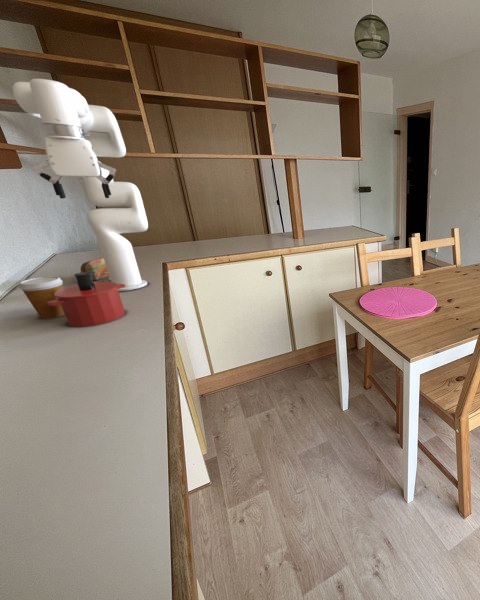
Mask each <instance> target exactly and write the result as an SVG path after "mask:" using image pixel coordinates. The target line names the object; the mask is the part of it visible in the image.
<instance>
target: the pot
mask: <svg viewBox="0 0 480 600" xmlns="http://www.w3.org/2000/svg"><path fill="white" fill-rule="evenodd" d="M124 287H125V284H118V287H117V288H116V289H114V290H112V291H109V292H106V293H103V294H98V295H94V296H88V297H81V298H58V299H57V300H53V301H49V302H47V303H48V305H51V306H56V305H59V304H61V306H62V309H63V311H64V316H65V319H66V321H67V323H68V326H70V327H79V328H80V327H90V326H97V325H102V324H106V323H109V322H113V321H115V320H117V319H120V318H121V317H123V316H124V315H125V313H126V312H125V307H124V304H123V302H122V298H121V294H120V291H118V289H120V288H124Z"/></svg>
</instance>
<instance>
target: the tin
mask: <svg viewBox="0 0 480 600" xmlns="http://www.w3.org/2000/svg"><path fill="white" fill-rule="evenodd" d="M81 272H90V273H91V276H92V279H93V281H99V280H102V279H105V278H109V277H110V276H109V273H108V270H107V267H106V264H105V261H104V258H103V257H99V258H96V259H92V260H89V261H85V262H83V263H82V264H81V266H80V273H81Z"/></svg>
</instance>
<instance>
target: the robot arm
mask: <svg viewBox="0 0 480 600" xmlns="http://www.w3.org/2000/svg"><path fill="white" fill-rule="evenodd" d="M12 94H13V97H14V99H15V101H16V103H17V104H18V105H19V107H20V108H21V109H22V110H23V111H24V112H25V113H27V114H28V115H30V116H32V117H34V118H39V119H40V120H41V122H42V125H43V129H44V131H45V134H46V136H45V137H43V139H44V147H45V152H46V156H47V159H46V160H44V161H41V162H40V163H36V164H34V165H32V166H31V168H32V169H33V170H34V171H35V173H37V174H38V175H39V176H40V177H41V178H43V179H44V180H46V181H47V182H49V183H50V184H52V186H53V191H54V192H55V195H56V196H58V197H59V198H60V199H66V198H67V196H66V194H65V191H64V190H65V189H64V188H63V185H62V183H61V182H60V180H61V179H62V178H63V177H64V178H65V177H68V178H76V177H77V178H83V181H84V186H85V189H86V194H87V196H88V200H89V201H90V203H91V204H92V205H93V206H96V207H99V208H95V209H92V210H89V211H88V213H87V215H86V218H87V221H88V224H89V226H90V228H91V229H92V231H93V234H94V235H95V238H96V241H97V243H98V245H99V248H100V251H101V254H102V258H104V261H105V264H106V267H107V270H108V273H109V276H108V277H107V278H108V281H110V282H114V283H117V284H125V287H124V288H120V289H118V291H119V292H127V291H133V290H137V289H140V288H141V289H142V288H143V287H146V286H147V285H148V281H147V280H145V279H142V277H141V274H140V273H141V272H140V269H139V266H138V263H137V259H136V255H135V252H134V249H133V248H134V247H133V245H132V243H131V241H129V240H128V239H127V238H126V237H124V236H123V235H121V234H130V233H143V232H147V231H148V229H149V221H148V217H147V213H146V209H145V206H144V201H143V198H142V194H141V191H140V189H139V187H138V186H137V185H136V184H134V183H132V182H129V181H115V180H114V178H115V176H116V173H117V169H116V168H114V167H112V166H109V165H107V164H105V163H102V162H101V161H100V160H98V157H100V158H124V157H125V156H126V154H127V148H126V145H125V140H124V138H123V135H122V132H121V129H120V126H119V123H118V120H117V119H116V116H115V114H114V113H113V112H112V111H111V110H110V108H108V107H106V106H102V105H95V104H88V102H87V99H86V98H85V97H84V96H83V95H82V94H81V93H80V92H79V91H78V90H76V89H74V88H72V87H69V86H68V85H66V84H65V83H62V82H60V81H57V80H53V79H47V78H32V79H30V80H29V81H17V82H15V83H14V84H13V86H12ZM48 167H49V169H50V170H51V172H52V174H53V175H52V176H51V175H49V174H48V173H46V171H44V169H45V168H48Z"/></svg>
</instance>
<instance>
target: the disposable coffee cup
mask: <svg viewBox="0 0 480 600" xmlns="http://www.w3.org/2000/svg"><path fill="white" fill-rule="evenodd" d="M63 282H64V280H62V279H61V277H60V276H53V275H52V276H51V275H50V276H39V277H34V278H33V277H32V278H28V279H25V280H22V281H20V282H19V286H18V289H19V290H21V291H22V292H23V294H24V295H25V296H26V298H27V300H28V301H29V302H30V305H32V307H33V309H34V310H35V312H36V314H37V315H38V316H39V318H40V319H51V318H58V317H62V316H65V314H64V311H63V309H62V306H61V304H59V305H56V306H51V305H48V303H47V302H49V301H53V300H57V299H58V297H55V295H54V294H55V292H57V291H59V290H61V289H64V288H63Z"/></svg>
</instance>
